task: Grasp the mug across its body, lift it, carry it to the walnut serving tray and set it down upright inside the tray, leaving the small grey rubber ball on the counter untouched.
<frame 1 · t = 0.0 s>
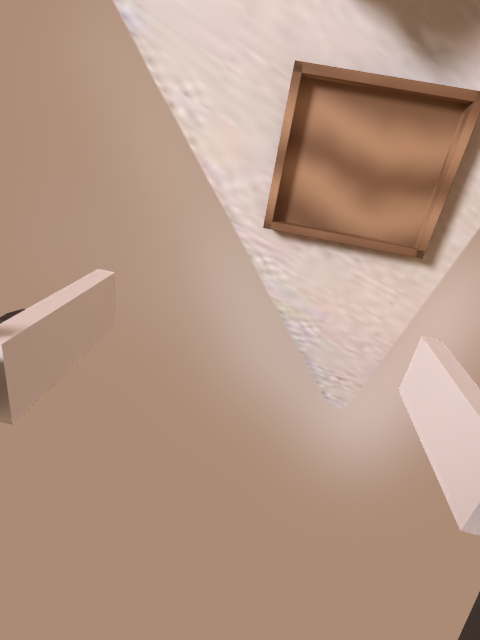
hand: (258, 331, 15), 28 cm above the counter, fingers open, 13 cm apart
tray: (359, 166, 37), on the counter
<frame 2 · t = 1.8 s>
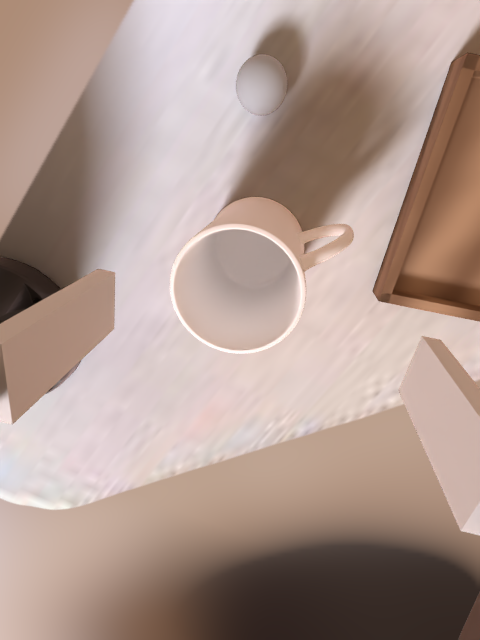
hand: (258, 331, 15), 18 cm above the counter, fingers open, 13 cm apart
mug: (273, 242, 32), on the counter
ball: (263, 90, 27), on the counter
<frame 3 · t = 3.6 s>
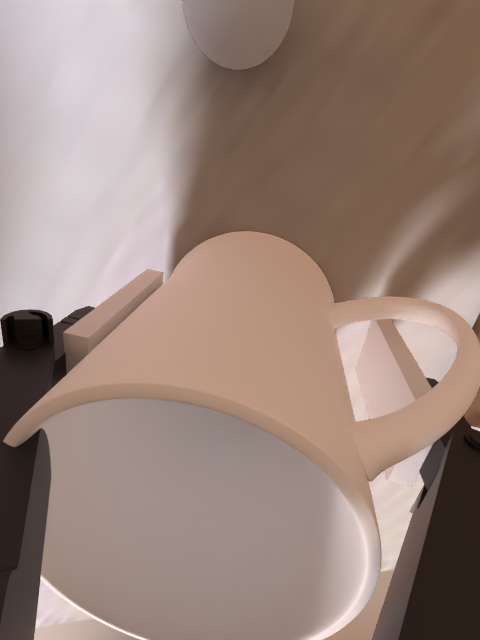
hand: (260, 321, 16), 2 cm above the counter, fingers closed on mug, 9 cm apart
mug: (279, 307, 18), on the counter, touching gripper
ball: (245, 21, 13), on the counter
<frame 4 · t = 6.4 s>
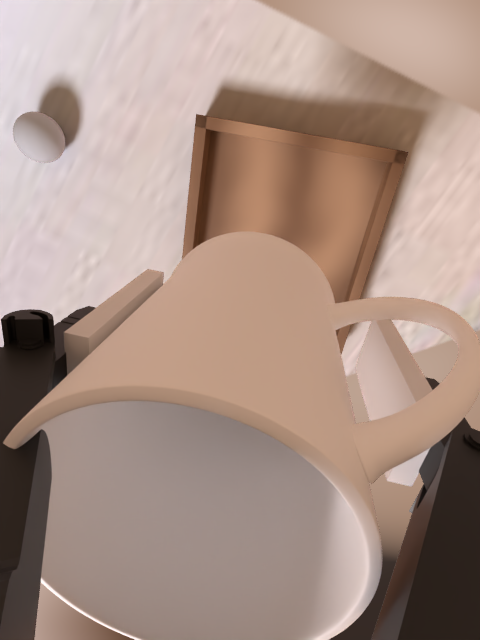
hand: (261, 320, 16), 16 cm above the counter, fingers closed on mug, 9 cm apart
tray: (277, 244, 31), on the counter
mug: (279, 307, 18), point 14 cm above the counter, touching gripper
ball: (53, 139, 30), on the counter
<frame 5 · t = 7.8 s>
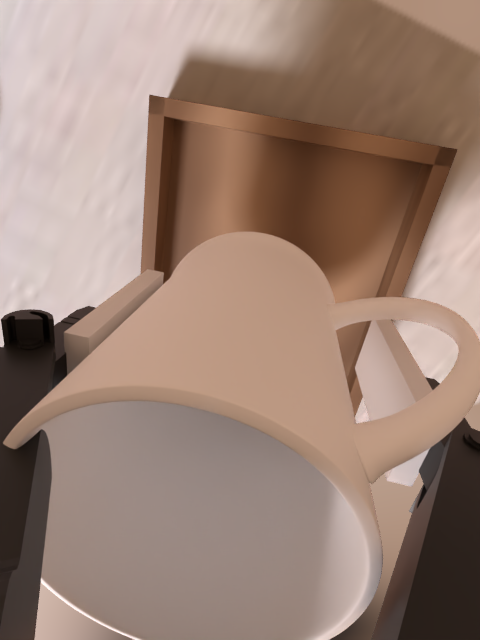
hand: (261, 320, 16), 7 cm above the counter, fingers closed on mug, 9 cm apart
tray: (268, 273, 23), on the counter
mug: (279, 307, 18), point 6 cm above the counter, touching gripper
when the fingers open (4 cm above the counter, at t = 9.0 s): mug drops 1 cm, resting on tray.
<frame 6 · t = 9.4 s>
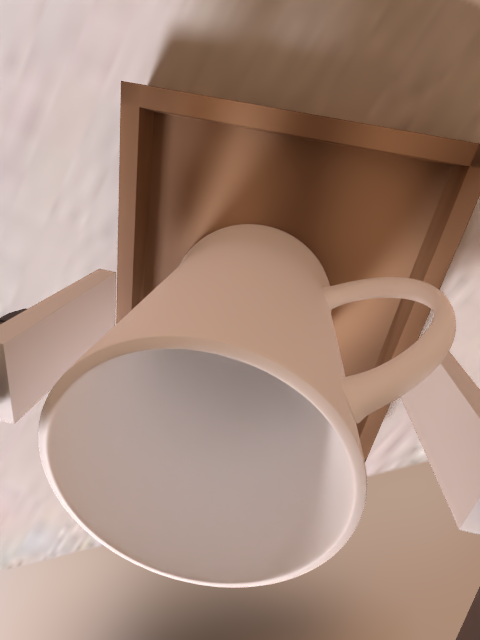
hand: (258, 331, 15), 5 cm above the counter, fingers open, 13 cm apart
tray: (267, 292, 20), on the counter
mug: (279, 294, 19), point 1 cm above the counter, touching tray
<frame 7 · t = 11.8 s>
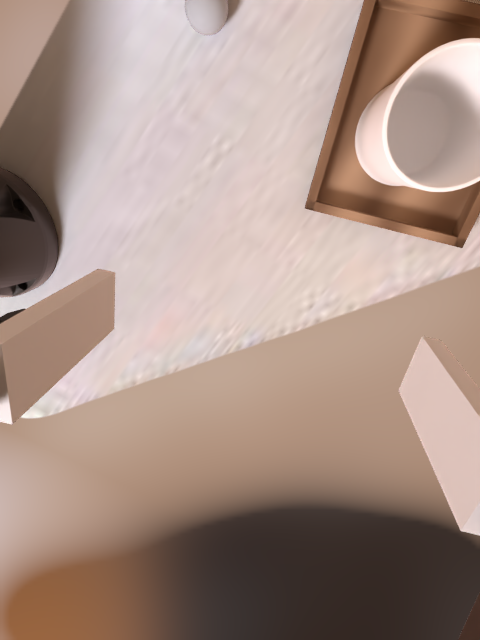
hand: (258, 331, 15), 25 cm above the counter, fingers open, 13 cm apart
tray: (413, 130, 33), on the counter
mug: (423, 129, 32), point 1 cm above the counter, touching tray
ball: (211, 16, 32), on the counter
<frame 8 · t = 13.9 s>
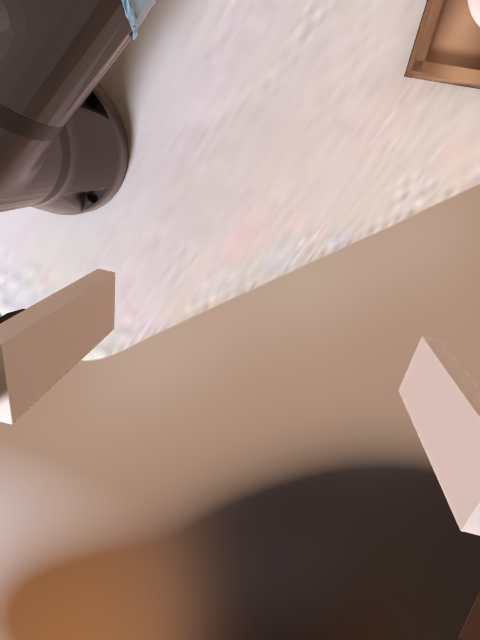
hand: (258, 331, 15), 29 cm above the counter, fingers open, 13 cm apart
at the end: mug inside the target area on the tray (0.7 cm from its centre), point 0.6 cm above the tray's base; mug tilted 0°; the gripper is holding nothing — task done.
